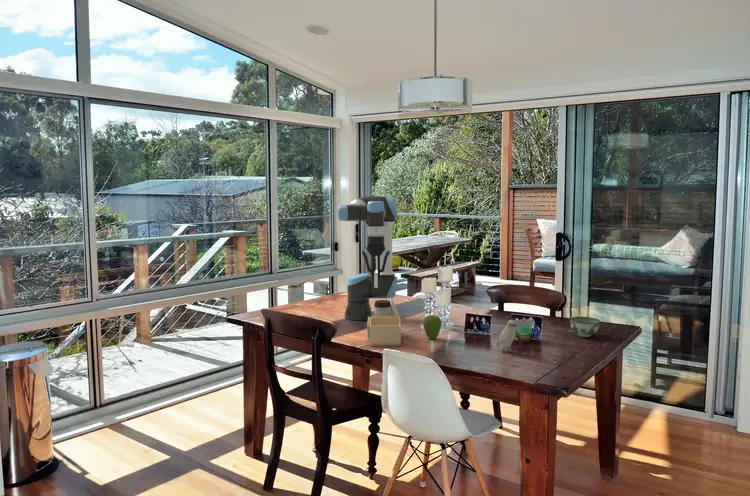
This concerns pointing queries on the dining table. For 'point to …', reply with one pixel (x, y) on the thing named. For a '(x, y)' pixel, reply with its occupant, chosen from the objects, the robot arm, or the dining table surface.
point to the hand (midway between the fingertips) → (375, 287)
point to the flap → (395, 310)
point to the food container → (523, 330)
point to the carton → (384, 331)
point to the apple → (432, 326)
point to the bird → (507, 335)
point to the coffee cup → (382, 308)
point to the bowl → (584, 326)
